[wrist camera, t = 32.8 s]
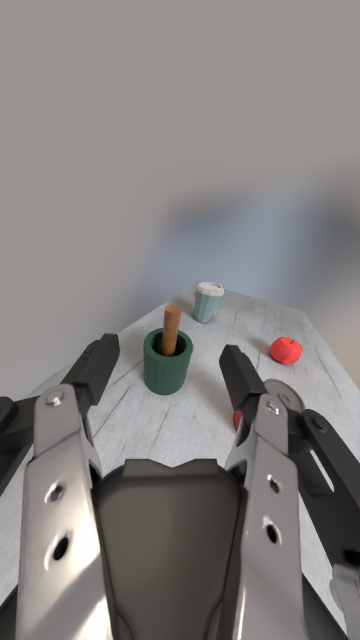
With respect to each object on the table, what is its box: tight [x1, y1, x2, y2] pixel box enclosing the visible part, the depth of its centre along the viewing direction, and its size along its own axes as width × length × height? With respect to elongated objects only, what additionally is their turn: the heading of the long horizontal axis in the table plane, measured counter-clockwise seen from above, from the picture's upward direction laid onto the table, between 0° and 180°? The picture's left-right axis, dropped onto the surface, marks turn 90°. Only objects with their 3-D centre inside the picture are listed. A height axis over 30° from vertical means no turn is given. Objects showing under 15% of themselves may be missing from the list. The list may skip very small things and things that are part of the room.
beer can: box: [234, 379, 305, 430], centre depth 23 cm, size 7×7×12 cm
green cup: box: [144, 328, 193, 395], centre depth 30 cm, size 10×10×11 cm
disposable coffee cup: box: [194, 282, 224, 323], centre depth 54 cm, size 11×11×15 cm
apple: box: [270, 337, 303, 364], centre depth 42 cm, size 8×8×8 cm
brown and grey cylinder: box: [159, 305, 182, 357], centre depth 28 cm, size 4×4×18 cm
